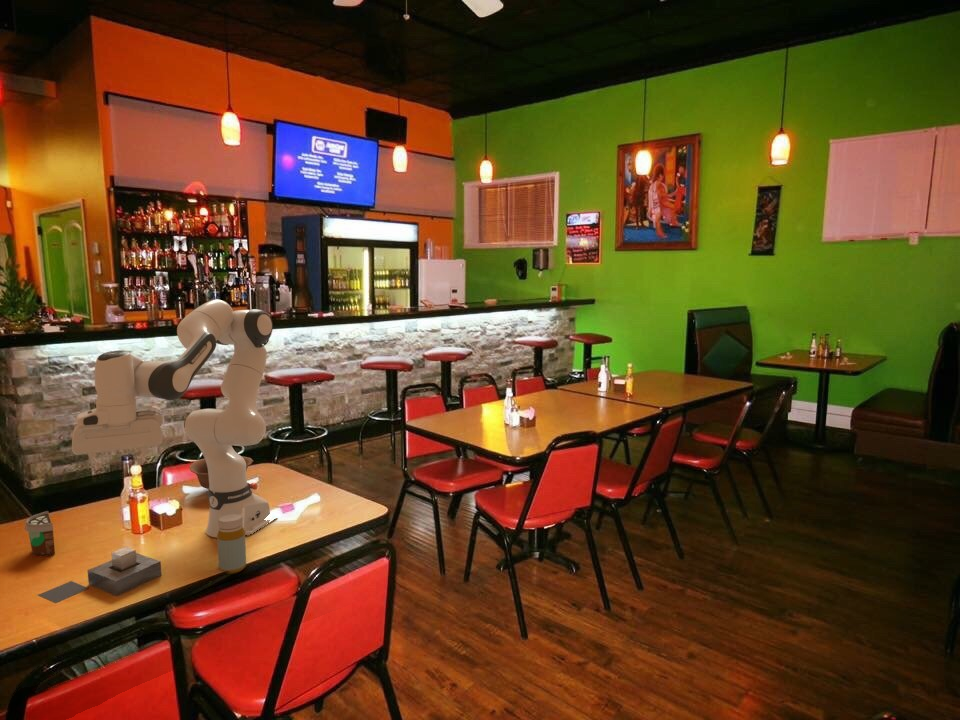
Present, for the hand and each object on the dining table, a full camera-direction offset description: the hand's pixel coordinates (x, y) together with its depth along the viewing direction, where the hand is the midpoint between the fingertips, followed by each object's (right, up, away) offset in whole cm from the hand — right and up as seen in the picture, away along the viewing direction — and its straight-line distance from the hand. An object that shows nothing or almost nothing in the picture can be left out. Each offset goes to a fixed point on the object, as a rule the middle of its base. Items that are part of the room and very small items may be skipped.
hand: (119, 466), depth 158 cm
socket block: (+1, -31, +2) cm, 31 cm away
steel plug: (+1, -30, +1) cm, 30 cm away
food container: (-35, -29, +19) cm, 49 cm away
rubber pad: (-12, -32, -4) cm, 34 cm away
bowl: (-3, -22, +70) cm, 74 cm away
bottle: (+25, -31, +10) cm, 41 cm away
